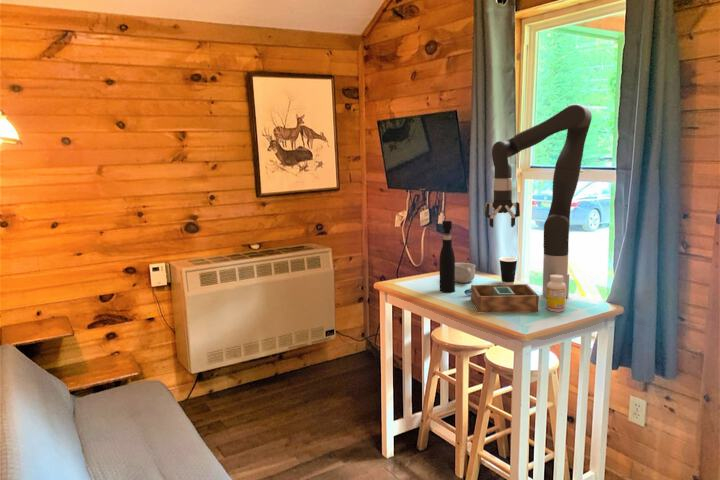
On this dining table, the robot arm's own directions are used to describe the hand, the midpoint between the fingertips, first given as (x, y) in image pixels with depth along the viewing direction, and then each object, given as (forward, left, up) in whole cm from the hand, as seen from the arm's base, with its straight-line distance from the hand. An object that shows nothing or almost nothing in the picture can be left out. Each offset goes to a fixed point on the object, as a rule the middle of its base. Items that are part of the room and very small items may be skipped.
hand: (502, 226), depth 230 cm
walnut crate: (+5, +28, -26) cm, 39 cm away
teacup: (+15, -8, -26) cm, 31 cm away
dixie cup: (-4, -5, -26) cm, 27 cm away
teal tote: (+5, +28, -25) cm, 38 cm away
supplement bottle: (-13, +34, -26) cm, 45 cm away
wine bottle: (+24, +6, -26) cm, 36 cm away
